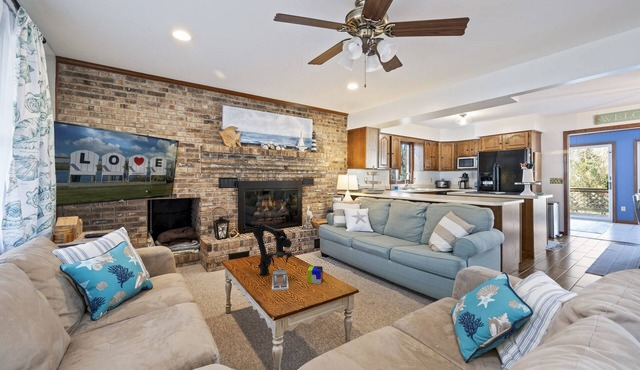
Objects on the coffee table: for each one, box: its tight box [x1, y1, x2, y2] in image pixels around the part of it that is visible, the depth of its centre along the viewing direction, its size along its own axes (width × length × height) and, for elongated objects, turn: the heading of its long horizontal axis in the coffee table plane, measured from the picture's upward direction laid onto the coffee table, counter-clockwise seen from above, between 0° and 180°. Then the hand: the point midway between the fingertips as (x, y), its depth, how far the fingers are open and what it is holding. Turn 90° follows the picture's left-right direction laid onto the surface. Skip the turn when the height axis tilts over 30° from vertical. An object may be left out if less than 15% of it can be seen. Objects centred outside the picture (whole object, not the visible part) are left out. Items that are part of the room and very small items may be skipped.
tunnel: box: [272, 269, 288, 286], centre depth 202 cm, size 7×10×8 cm
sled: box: [276, 266, 284, 285], centre depth 207 cm, size 16×6×8 cm, turn 9°
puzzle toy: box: [307, 265, 324, 285], centre depth 210 cm, size 10×10×10 cm
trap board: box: [271, 275, 289, 292], centre depth 206 cm, size 24×12×2 cm, turn 9°
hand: (279, 265), depth 213 cm, fingers open, 9 cm apart
